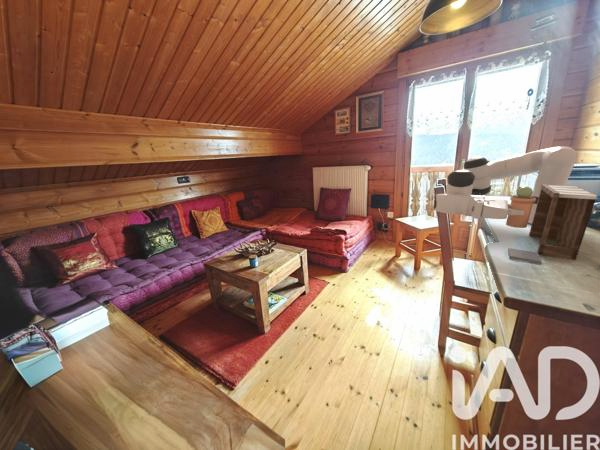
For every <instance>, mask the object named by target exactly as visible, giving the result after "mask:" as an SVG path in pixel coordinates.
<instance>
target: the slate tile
mask: <svg viewBox="0 0 600 450" xmlns="http://www.w3.org/2000/svg"><path fill="white" fill-rule="evenodd" d="M507 252H508V258H509V259H512V260H516V261H517V260H518V261H523V262H529V263H533V264H540V265H541V264H542V259H541V257H540V256H541V255H539V254H538V251H537V252H536V251H531V250H524V249H518V248H517V249H516V248H511V247H508V248H507Z"/></svg>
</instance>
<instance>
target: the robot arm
mask: <svg viewBox="0 0 600 450" xmlns="http://www.w3.org/2000/svg"><path fill="white" fill-rule="evenodd" d="M577 157H578V154H577V151H576V150H575V149H574V148H572V147H570V146H560V145H559V146H552V147H548V148H544V149H538V150H535V151H530V152H526V153H522V154H517V155H513V156H507V157H504V158H499V159H496V160H493V161H490V160H489V159H487V158H485V157H484V156H473V157H470V158H469V159H467V160H465V161H464V163H463V169H458V170H453V171H452V172H450V173H449V174H448V175H447V183H446V191H445V193H436V194H435V195H434V201H433V210H434V211H435V212H438V213H443V214H447V215H462V216H465V217H472V218H473V219H478V220H480V219H494V220H495V219H496V220H505V219H506V220H507V217H508V215H524V210H520V209H518V210H516V209H510V205H511V203H508V200H506V199H491V198H486V195H488V194H489V193H490V192H491V190H492V184H491V181H494V180H495V181H496V180H503V179H509V178H516V177H520V176H526V175H531V174H534V173H538V174H537V176H536V179H535V182H534V185H533V186H534V187H533V189H532V190H533V193H532V195H531V196H532V197H535V198H536V201H535V202H533V205H532V209H531V213H530V216H529V220H528V224H530V225H532V222H533V218H534V214H535V210H536V206H537V203H538V199H539V195H540V191H541V185H542V184H546V185H558V186H567V182H568V181H569V180H568V179H569V178H570V175H571V173H572V170H573V169H574V166H575V163H576V161H577Z"/></svg>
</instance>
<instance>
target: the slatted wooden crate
mask: <svg viewBox="0 0 600 450" xmlns="http://www.w3.org/2000/svg"><path fill="white" fill-rule="evenodd" d="M597 197H598V196H597V195H596V194H594V193H592V192H589V191H588V190H585V189H582V188H580V187H578V186H576V185H565V186H558V185H546V184H542V185H541V191H540V195H539V199H538V203H537V206H536V210H535V214H534V218H533V222H532V224H531V226H530V231H529V233H528V236H529V237H533V238H541V239H540V243H539V245H538V250H537V253H538V254H539V256H546V257H552V258H559V259H564V260H571V261H577V257H578V254H579V251H580V248H581V245H582V242H583V239H584V236H585V234H586V230H587V227H588V224H589V222H590V218H591V215H592V212H593V209H594V206H595V202H596V201H597ZM547 239H549V240H555V241H556V242H557V243H558V245H553V244H546V243H547Z"/></svg>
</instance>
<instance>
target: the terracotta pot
mask: <svg viewBox="0 0 600 450" xmlns="http://www.w3.org/2000/svg"><path fill="white" fill-rule="evenodd" d="M532 193H533V189H532V188H531V187H530V186H525V185H524V186H521V187H518V189H516V193H515V194H514V195H511V196H510V197H509V200H510V201H511V202H510V204H511V205H510V209H516V210H518V209H520V210H524V215H507V218H506V222H505V225H506V226H507V227H511V228H517V229H525V228H527V227H528V224H529V223H528V220H529V216H530V213H531V209H532V205H533V202H535V201H536V198H535V197H532V196H531V195H532Z"/></svg>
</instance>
